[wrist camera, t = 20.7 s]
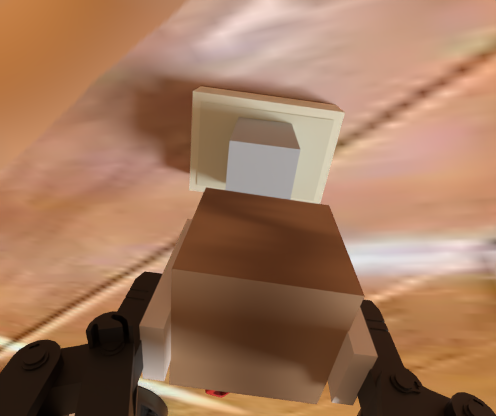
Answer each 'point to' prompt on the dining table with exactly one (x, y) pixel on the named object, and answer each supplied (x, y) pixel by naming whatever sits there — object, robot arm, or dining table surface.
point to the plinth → (271, 109)
